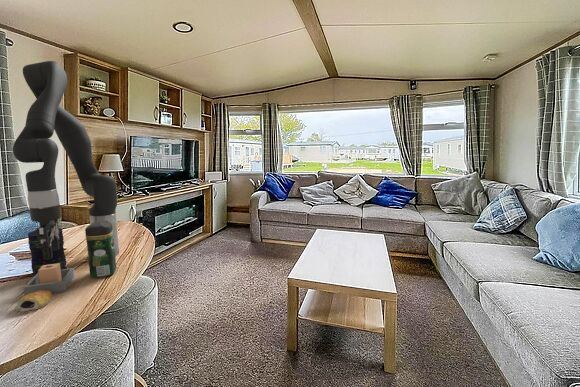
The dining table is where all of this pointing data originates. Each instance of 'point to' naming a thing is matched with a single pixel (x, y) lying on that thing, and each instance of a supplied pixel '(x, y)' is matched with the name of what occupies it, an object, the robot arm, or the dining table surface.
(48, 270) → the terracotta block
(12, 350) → the dining table surface
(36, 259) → the storage jar
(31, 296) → the pastry
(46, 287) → the charcoal tray
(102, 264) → the coffee jar
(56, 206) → the robot arm
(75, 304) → the dining table surface
